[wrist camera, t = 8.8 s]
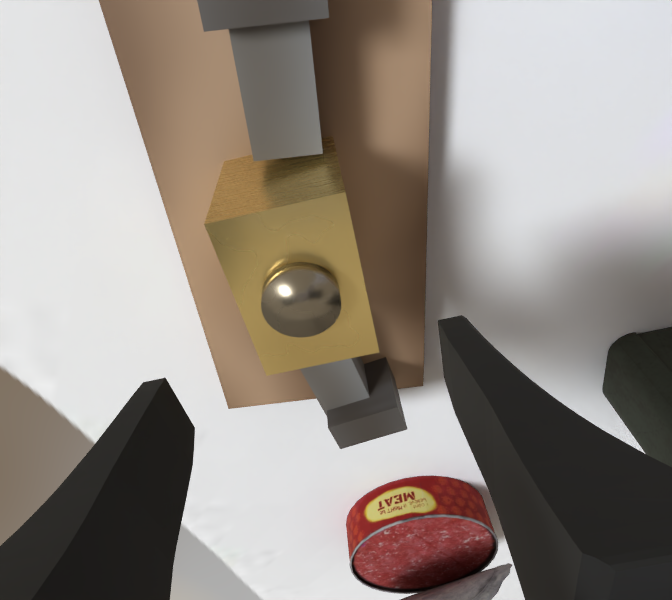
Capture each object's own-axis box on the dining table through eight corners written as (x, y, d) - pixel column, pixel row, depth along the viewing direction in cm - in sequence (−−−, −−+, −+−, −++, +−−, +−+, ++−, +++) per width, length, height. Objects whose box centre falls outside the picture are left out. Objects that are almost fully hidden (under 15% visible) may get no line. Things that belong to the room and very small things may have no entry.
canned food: (455, 427, 36) (571, 538, 30) (415, 516, 41) (508, 629, 34) (331, 473, 30) (444, 629, 23) (300, 573, 35) (387, 727, 28)
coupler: (362, 274, 21) (381, 364, 16) (271, 294, 21) (265, 388, 17) (332, 135, 17) (347, 201, 13) (223, 161, 18) (200, 234, 13)
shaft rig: (424, -82, 15) (466, -92, 11) (418, 370, 26) (438, 437, 23) (97, -46, 15) (36, -46, 11) (231, 392, 26) (221, 463, 22)
